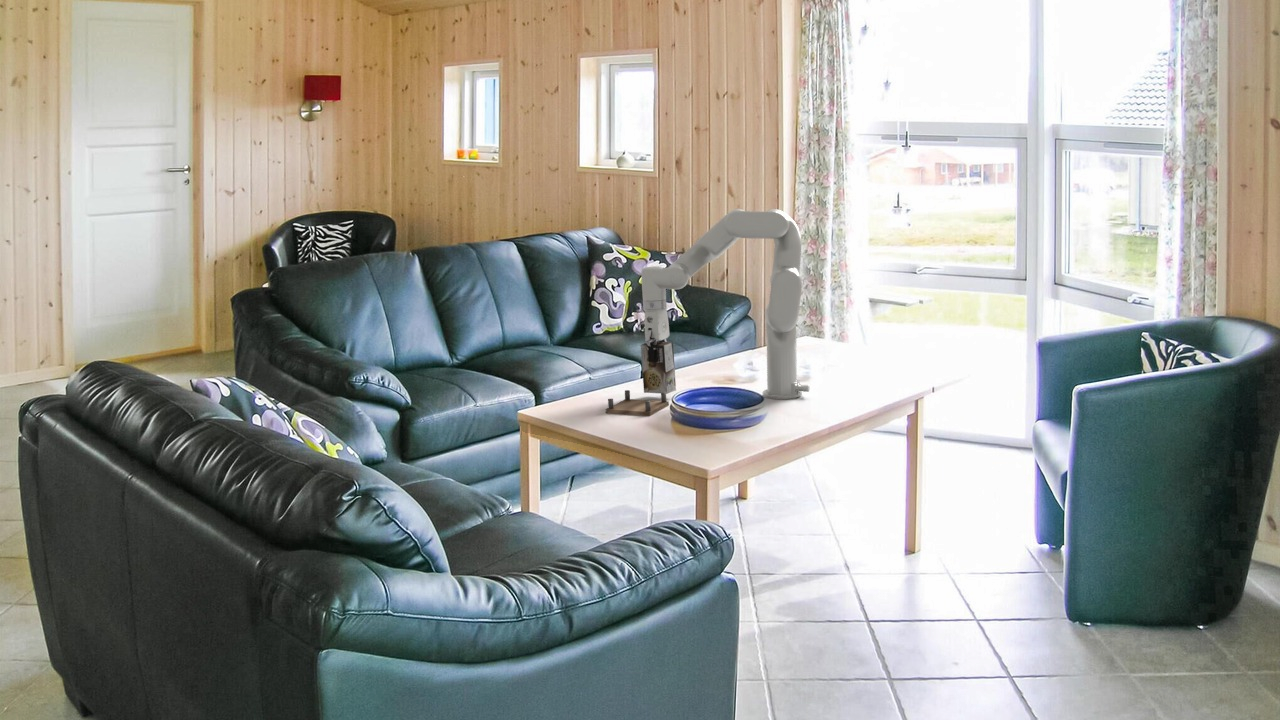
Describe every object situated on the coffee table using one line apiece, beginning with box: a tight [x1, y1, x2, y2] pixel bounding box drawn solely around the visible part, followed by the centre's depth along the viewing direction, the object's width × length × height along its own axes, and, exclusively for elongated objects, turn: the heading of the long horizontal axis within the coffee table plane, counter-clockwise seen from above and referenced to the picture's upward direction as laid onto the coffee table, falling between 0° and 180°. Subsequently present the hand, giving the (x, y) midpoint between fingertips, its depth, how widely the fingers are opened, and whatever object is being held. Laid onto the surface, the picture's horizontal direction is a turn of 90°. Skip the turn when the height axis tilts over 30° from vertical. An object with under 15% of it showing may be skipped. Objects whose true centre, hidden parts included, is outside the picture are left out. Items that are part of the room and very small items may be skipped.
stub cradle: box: [605, 389, 670, 417], centre depth 379 cm, size 15×15×4 cm
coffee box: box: [640, 341, 677, 395], centre depth 391 cm, size 9×6×16 cm
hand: (658, 359), depth 391 cm, fingers closed on coffee box, 6 cm apart
